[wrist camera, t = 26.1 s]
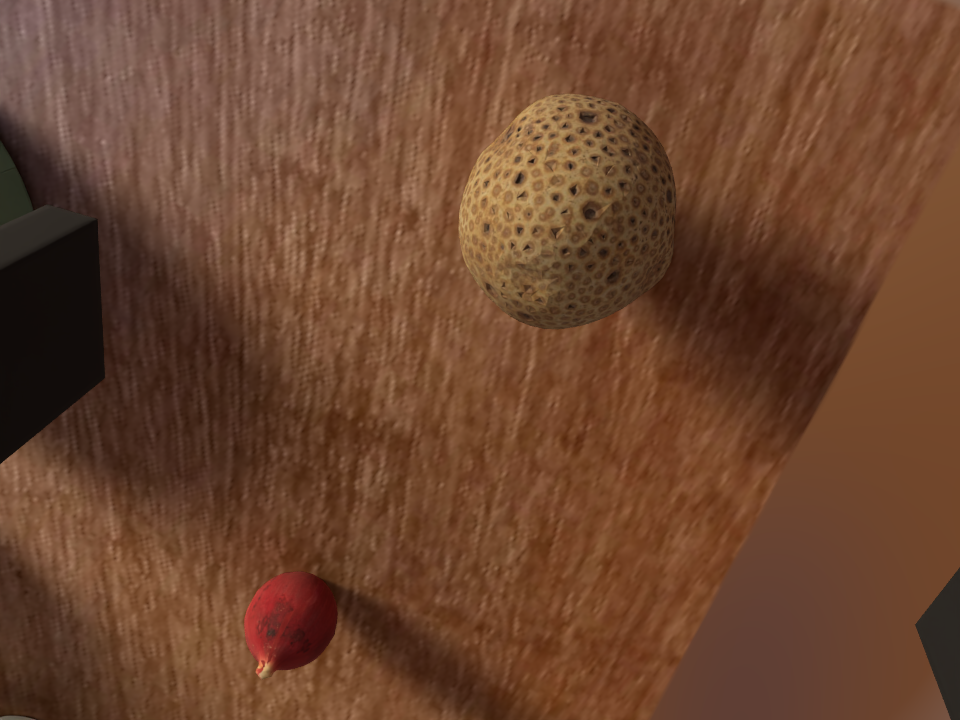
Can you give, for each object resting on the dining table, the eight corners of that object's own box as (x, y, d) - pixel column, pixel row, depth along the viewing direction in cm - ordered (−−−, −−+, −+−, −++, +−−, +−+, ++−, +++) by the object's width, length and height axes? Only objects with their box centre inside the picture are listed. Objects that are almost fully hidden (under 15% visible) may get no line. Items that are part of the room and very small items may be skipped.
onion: (273, 537, 52) (216, 630, 45) (355, 557, 51) (309, 654, 44) (274, 596, 55) (220, 692, 48) (351, 616, 54) (307, 715, 47)
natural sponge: (490, 69, 34) (436, 115, 26) (692, 83, 33) (706, 136, 24) (483, 258, 39) (435, 350, 30) (661, 277, 38) (663, 379, 29)
